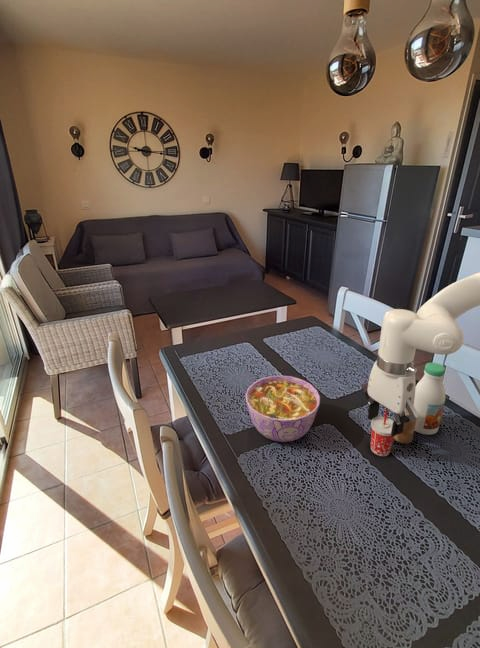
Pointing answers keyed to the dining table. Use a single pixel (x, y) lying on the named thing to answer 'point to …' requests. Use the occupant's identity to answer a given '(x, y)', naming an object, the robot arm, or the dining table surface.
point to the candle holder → (406, 431)
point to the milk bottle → (430, 399)
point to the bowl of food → (282, 407)
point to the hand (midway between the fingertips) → (384, 424)
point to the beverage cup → (381, 435)
